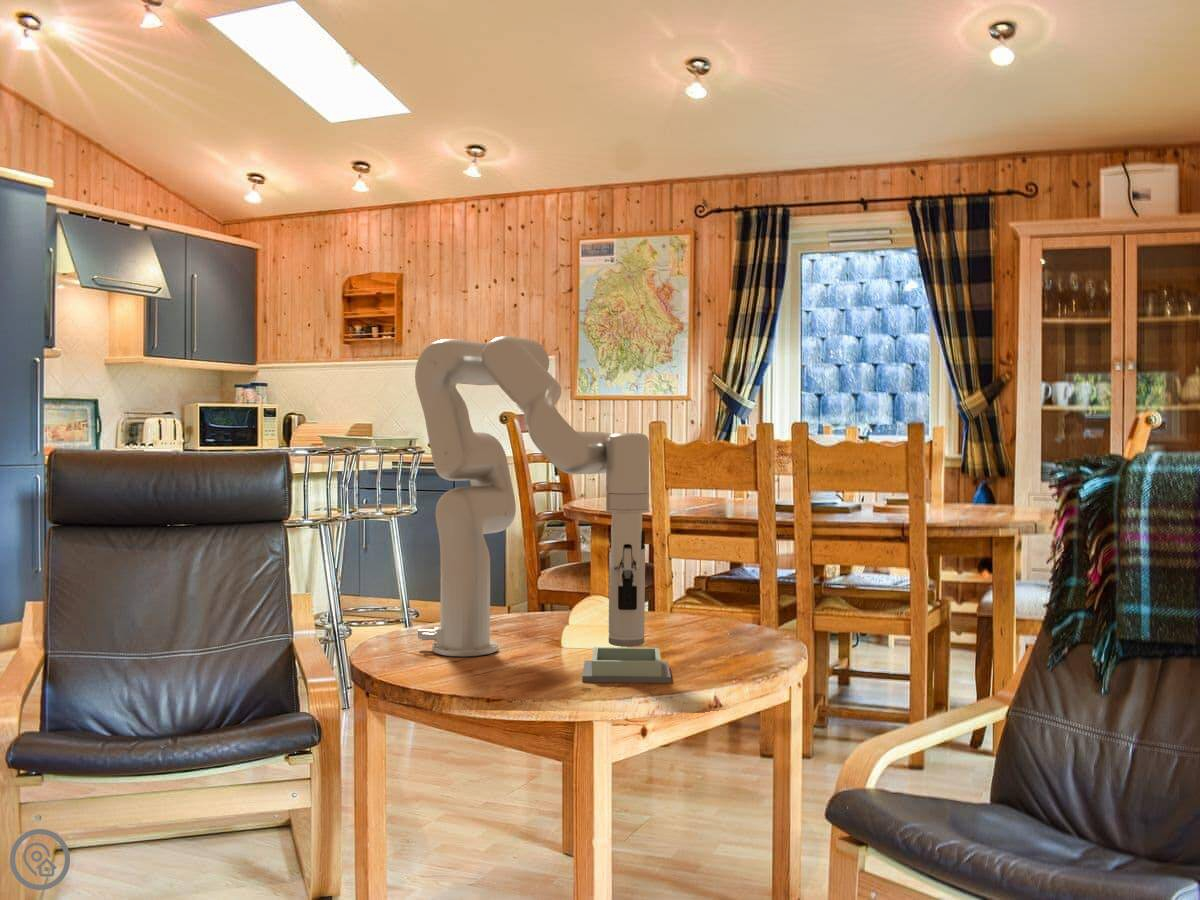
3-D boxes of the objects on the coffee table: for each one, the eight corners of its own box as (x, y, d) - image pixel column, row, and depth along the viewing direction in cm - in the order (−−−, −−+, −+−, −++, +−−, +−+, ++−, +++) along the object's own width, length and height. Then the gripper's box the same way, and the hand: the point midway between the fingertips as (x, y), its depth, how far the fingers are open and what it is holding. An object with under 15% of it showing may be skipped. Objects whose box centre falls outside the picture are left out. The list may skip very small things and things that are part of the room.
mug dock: (582, 681, 181) (582, 661, 181) (584, 666, 193) (584, 646, 193) (670, 683, 181) (671, 662, 181) (667, 667, 193) (667, 647, 193)
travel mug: (651, 642, 189) (652, 528, 188) (634, 648, 183) (635, 531, 183) (619, 638, 191) (620, 527, 191) (602, 644, 186) (603, 529, 185)
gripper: (606, 500, 195) (606, 598, 196) (605, 506, 178) (605, 614, 178) (647, 500, 195) (647, 599, 195) (650, 506, 178) (650, 614, 178)
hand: (627, 605), depth 187 cm, fingers closed on travel mug, 6 cm apart
